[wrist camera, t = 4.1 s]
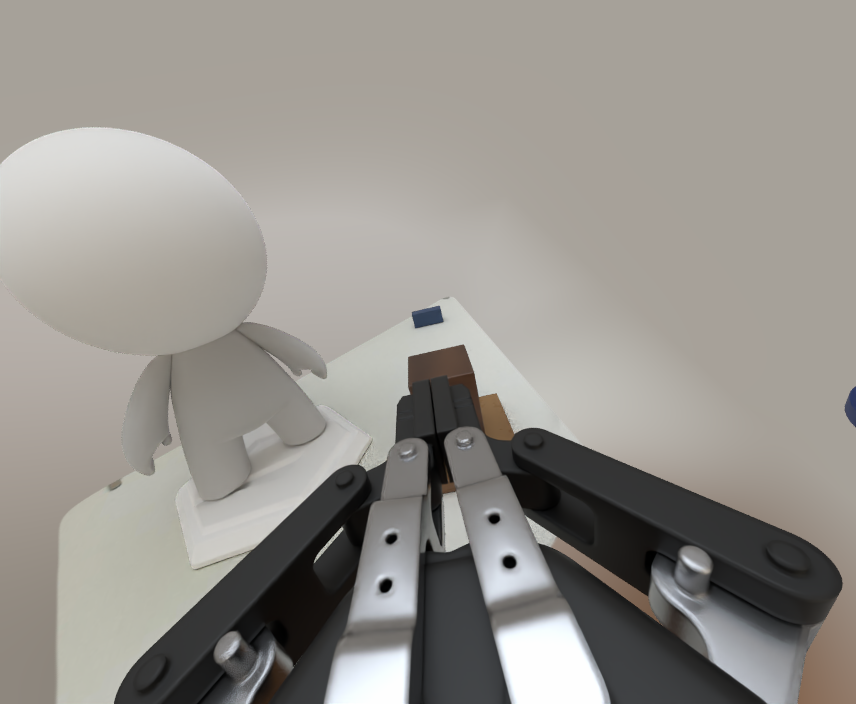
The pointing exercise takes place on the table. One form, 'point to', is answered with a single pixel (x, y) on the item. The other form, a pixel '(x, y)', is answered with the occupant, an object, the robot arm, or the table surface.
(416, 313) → the blue rectangular block
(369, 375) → the table surface
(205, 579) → the table surface
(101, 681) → the table surface
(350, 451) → the big headed doll
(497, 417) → the block
